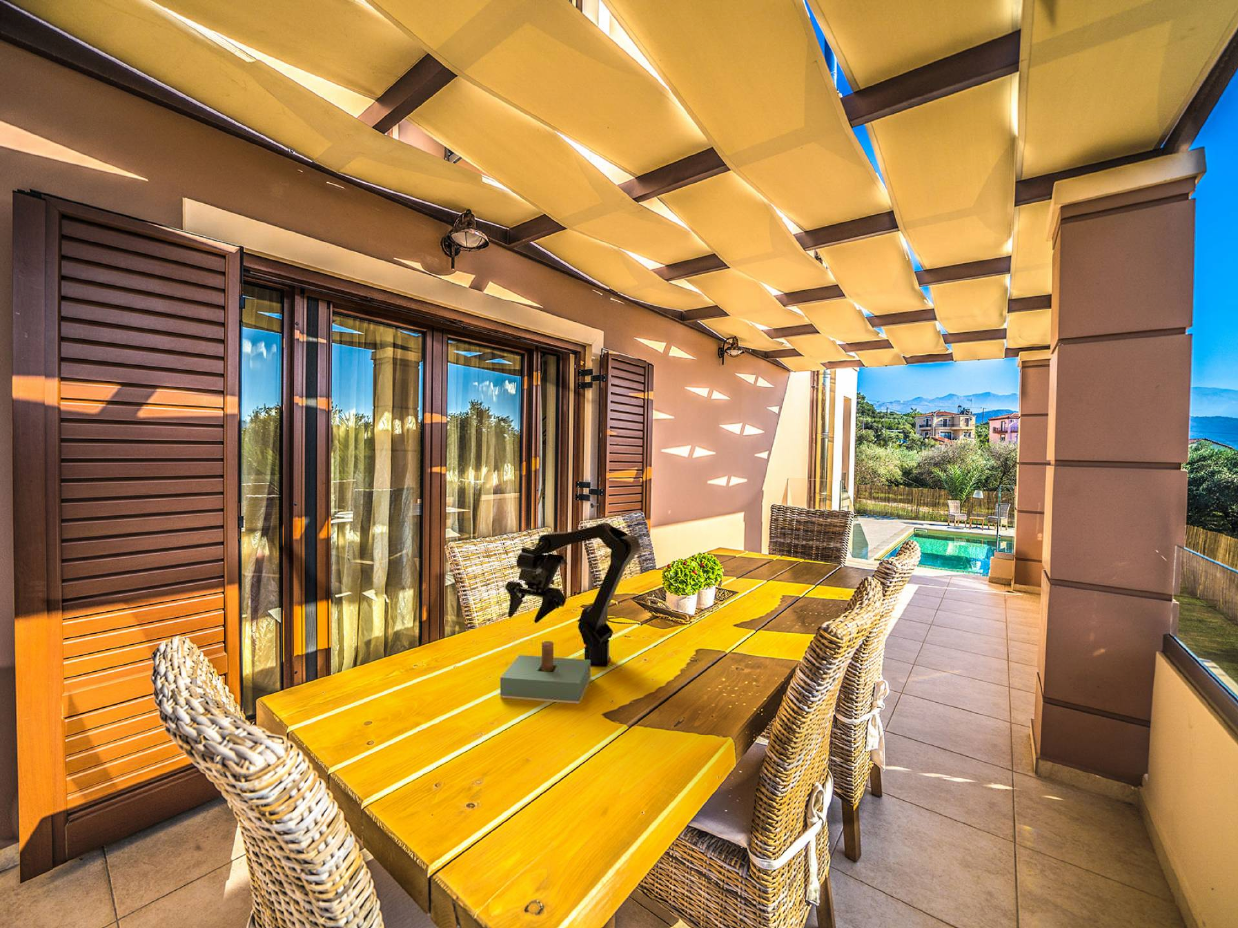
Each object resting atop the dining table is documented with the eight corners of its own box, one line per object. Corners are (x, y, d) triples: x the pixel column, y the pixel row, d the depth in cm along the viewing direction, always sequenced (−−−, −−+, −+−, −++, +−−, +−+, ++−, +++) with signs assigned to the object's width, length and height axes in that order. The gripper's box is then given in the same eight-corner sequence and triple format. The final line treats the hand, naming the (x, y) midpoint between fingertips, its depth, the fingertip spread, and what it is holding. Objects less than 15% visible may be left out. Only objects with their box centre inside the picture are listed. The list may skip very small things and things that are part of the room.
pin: (554, 683, 132) (554, 641, 132) (551, 688, 129) (551, 645, 129) (543, 682, 133) (543, 640, 132) (540, 687, 130) (540, 645, 129)
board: (590, 678, 136) (590, 659, 136) (579, 703, 122) (579, 683, 122) (519, 672, 139) (519, 654, 139) (500, 697, 125) (500, 677, 125)
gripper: (508, 553, 151) (482, 599, 142) (560, 560, 142) (536, 610, 133) (525, 574, 158) (501, 619, 149) (575, 582, 150) (553, 630, 140)
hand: (522, 619), depth 143 cm, fingers open, 9 cm apart
